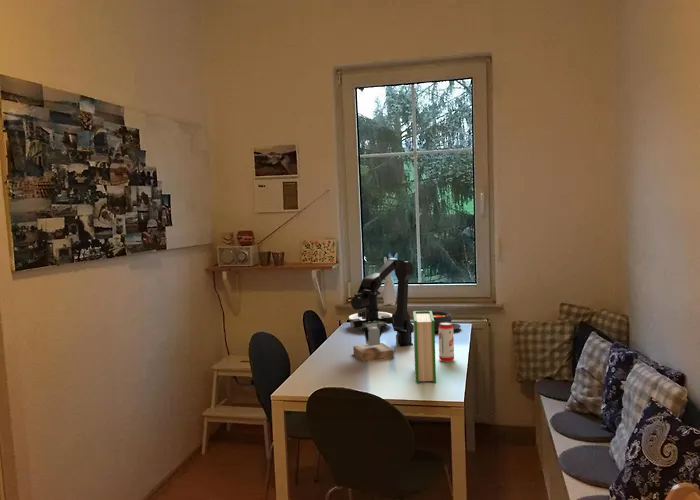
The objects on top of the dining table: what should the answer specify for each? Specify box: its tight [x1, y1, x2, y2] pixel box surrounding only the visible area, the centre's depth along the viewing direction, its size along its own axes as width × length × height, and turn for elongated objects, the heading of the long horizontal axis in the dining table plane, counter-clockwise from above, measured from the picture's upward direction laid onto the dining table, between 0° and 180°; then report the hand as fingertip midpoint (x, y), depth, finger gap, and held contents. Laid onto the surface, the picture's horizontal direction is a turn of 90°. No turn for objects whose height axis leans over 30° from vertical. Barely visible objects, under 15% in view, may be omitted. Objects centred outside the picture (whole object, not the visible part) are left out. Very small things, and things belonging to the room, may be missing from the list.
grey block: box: [365, 327, 381, 346], centre depth 252 cm, size 5×5×7 cm
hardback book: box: [412, 310, 437, 385], centre depth 221 cm, size 18×7×24 cm, turn 175°
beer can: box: [438, 322, 455, 363], centre depth 240 cm, size 6×6×16 cm
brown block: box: [352, 342, 395, 363], centre depth 253 cm, size 14×14×4 cm
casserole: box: [412, 310, 461, 333], centre depth 296 cm, size 25×19×8 cm
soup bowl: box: [348, 311, 393, 328], centre depth 305 cm, size 24×24×7 cm
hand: (372, 340), depth 252 cm, fingers closed on grey block, 5 cm apart
